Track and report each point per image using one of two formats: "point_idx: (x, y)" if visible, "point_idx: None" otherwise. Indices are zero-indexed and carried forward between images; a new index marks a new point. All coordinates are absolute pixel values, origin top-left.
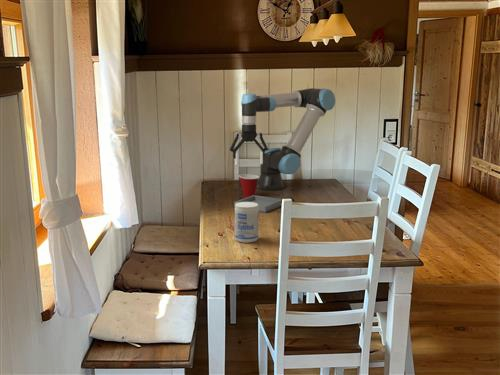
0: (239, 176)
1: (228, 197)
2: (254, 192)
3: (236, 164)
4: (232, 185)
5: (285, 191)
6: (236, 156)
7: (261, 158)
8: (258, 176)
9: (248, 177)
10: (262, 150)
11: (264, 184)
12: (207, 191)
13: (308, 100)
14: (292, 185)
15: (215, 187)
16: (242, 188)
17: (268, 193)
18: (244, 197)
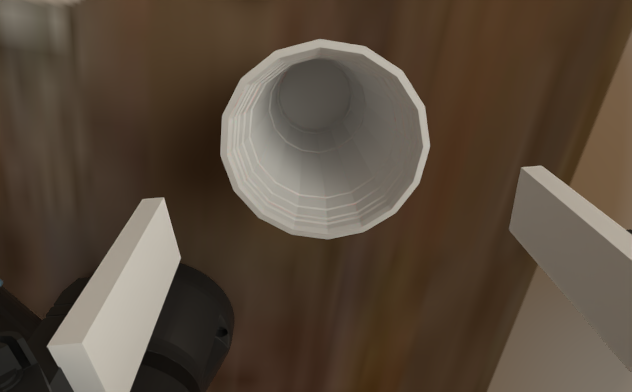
0: (426, 143)
1: (450, 113)
2: (278, 77)
3: (537, 169)
4: (361, 369)
5: (57, 224)
6: (623, 236)
7: (132, 246)
8: (228, 158)
9: (318, 210)
10: (35, 379)
11: (188, 294)
12: (522, 270)
13: None
14: None
15: (455, 341)
16: (375, 100)
17: (172, 186)
18: (349, 80)
